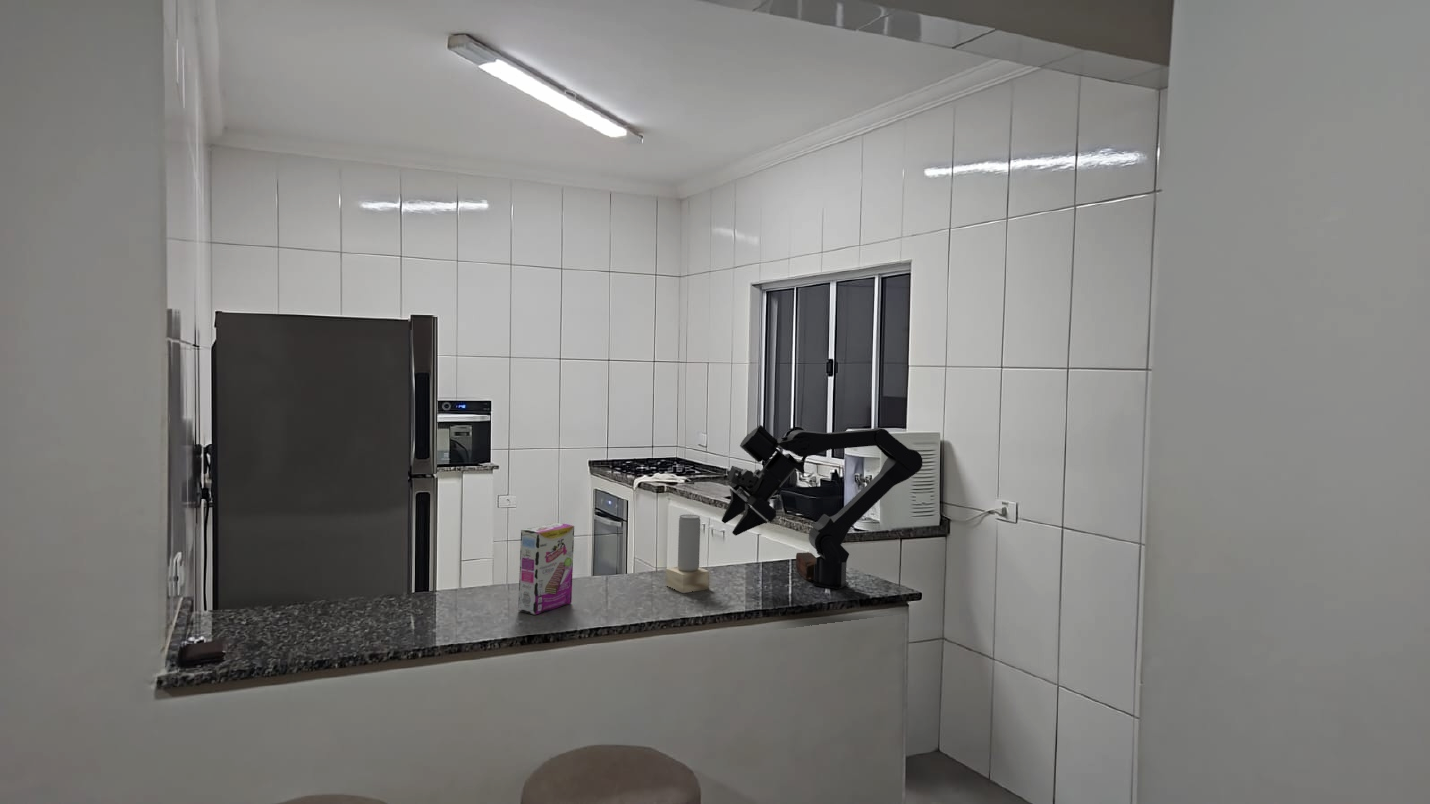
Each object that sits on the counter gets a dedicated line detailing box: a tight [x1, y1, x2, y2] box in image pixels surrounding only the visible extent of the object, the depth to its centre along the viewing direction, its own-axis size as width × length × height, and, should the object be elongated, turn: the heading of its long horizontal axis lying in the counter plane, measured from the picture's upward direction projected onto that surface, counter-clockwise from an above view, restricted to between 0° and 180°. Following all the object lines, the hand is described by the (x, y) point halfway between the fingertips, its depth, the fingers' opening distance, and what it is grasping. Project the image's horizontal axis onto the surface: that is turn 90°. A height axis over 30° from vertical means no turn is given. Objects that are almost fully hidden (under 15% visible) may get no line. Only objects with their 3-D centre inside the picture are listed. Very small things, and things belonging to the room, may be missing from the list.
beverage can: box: [677, 514, 701, 572], centre depth 197 cm, size 5×5×12 cm
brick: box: [795, 552, 817, 582], centre depth 212 cm, size 11×4×5 cm, turn 9°
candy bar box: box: [517, 522, 575, 616], centre depth 178 cm, size 11×5×16 cm, turn 149°
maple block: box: [665, 566, 710, 594], centre depth 197 cm, size 7×7×4 cm
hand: (728, 528), depth 199 cm, fingers open, 9 cm apart
